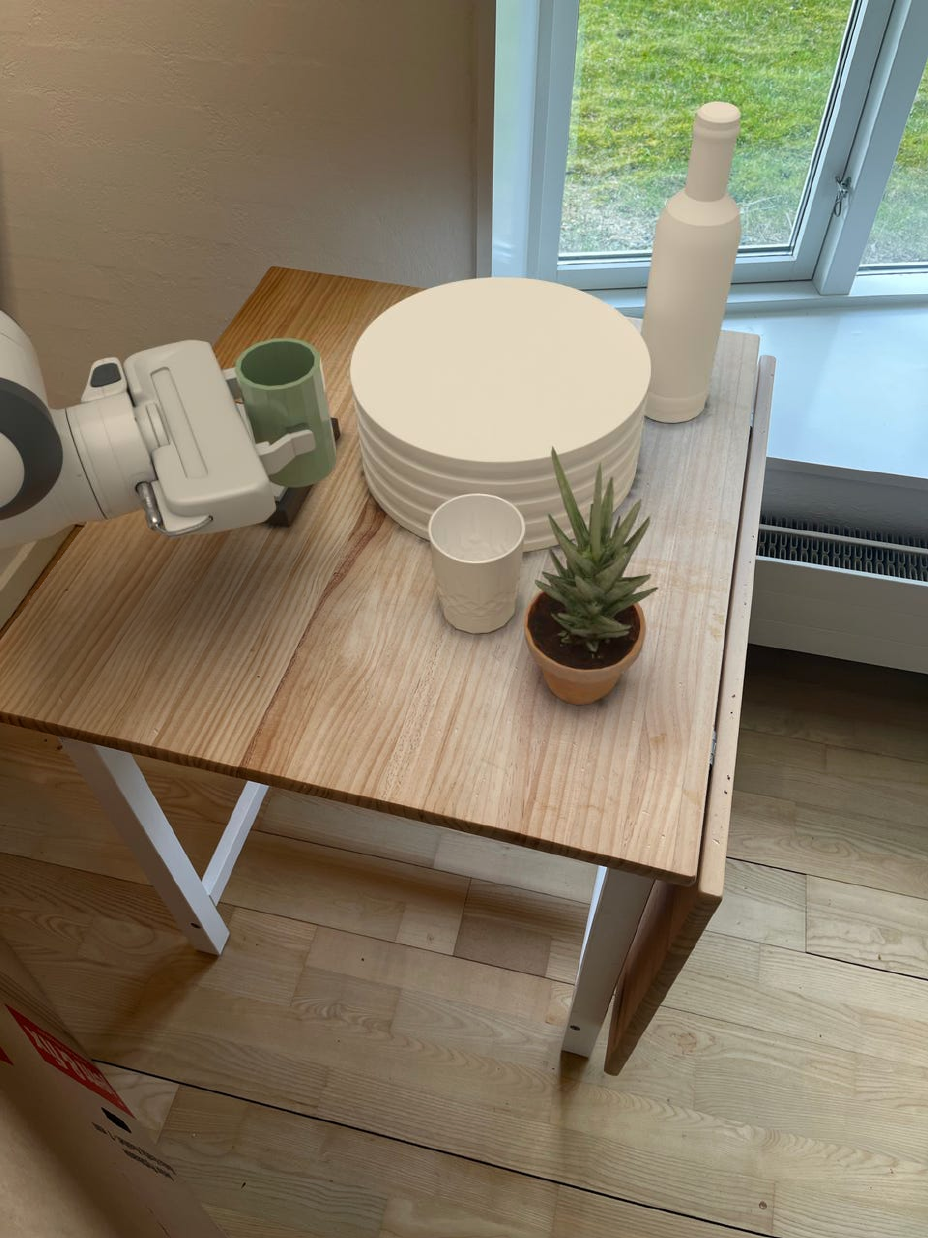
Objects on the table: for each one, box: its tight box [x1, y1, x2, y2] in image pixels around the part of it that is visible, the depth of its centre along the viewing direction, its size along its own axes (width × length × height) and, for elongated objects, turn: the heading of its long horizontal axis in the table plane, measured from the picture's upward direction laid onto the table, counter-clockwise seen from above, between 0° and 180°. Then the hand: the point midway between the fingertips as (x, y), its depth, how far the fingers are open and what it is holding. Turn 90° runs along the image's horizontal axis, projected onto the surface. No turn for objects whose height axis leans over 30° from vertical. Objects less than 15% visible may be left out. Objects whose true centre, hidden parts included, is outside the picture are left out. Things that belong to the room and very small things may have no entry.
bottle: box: [640, 101, 743, 424], centre depth 90 cm, size 8×8×30 cm
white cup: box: [428, 493, 525, 634], centre depth 81 cm, size 8×8×10 cm
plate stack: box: [349, 276, 651, 553], centre depth 93 cm, size 28×28×12 cm
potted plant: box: [523, 446, 659, 706], centre depth 70 cm, size 10×10×25 cm
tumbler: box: [234, 337, 338, 488], centre depth 77 cm, size 6×6×10 cm
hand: (297, 405), depth 76 cm, fingers closed on tumbler, 6 cm apart
